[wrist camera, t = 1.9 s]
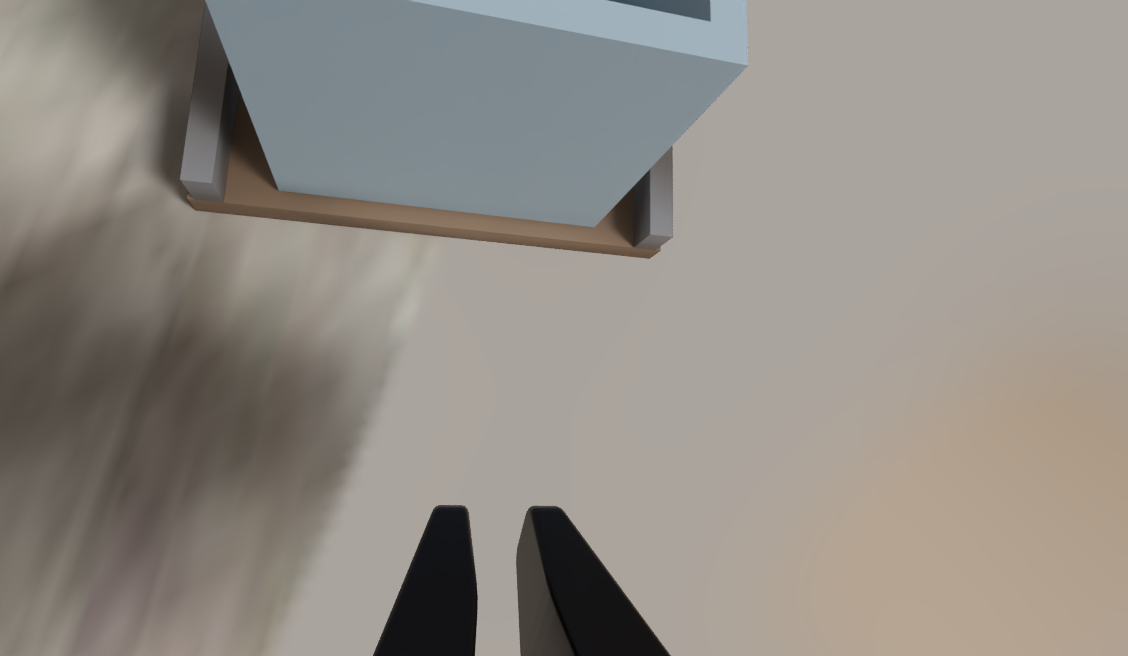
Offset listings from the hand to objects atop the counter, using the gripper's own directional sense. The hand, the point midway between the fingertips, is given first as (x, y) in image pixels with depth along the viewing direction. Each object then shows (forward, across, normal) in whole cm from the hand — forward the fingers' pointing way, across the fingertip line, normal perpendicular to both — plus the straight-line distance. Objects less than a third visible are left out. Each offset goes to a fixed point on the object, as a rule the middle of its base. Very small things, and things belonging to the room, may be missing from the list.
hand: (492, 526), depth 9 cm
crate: (+17, 0, 0) cm, 17 cm away
